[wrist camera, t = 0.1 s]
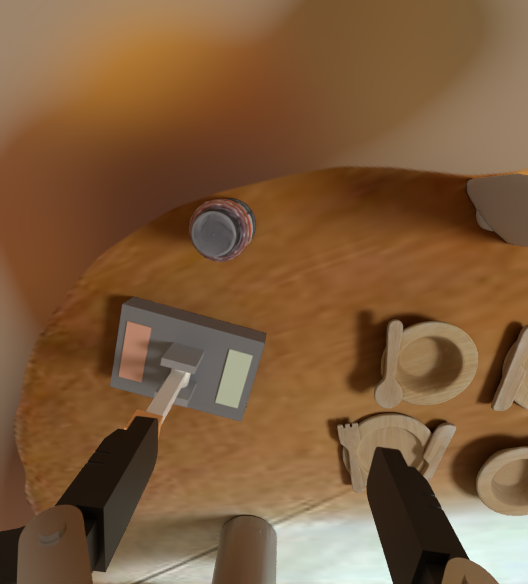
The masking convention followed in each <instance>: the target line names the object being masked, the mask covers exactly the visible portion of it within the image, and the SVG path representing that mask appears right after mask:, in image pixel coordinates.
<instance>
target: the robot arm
mask: <svg viewBox="0 0 528 584" xmlns="http://www.w3.org/2000/svg"><path fill="white" fill-rule="evenodd" d="M157 453H158V419H157V418H151V417H144V416H136V417H135V418H134V419H133V421H132V422H131V424H130V425H129V427H128V428H127V430H123V429H117V430H116V431H114V432H113V433H112V434H110V435H109V436H107V437H106V438H105V439H104V440H103V441H102V443H101V444H100V445H99V447H98V448H97V449H96V451H95V453H94V454H93V455H92V456H91V458H90V459H89V460H88V463H87V464H85V466H84V467H83V468H82V470H81V471H80V472H79V474H78V475H77V477H76V478H75V479H74V481H73V482H72V483H71V485H70V486H69V487H68V489H67V490H66V491H65V493H64V494H63V495H62V497H61V498H60V500H59V501H58V502H57V504H56V505H55V506H54V507H51V508H49V509H47V510H45V511H43V512H41V513H40V514H38V515H37V516H35V517H34V518H33V519H32V520H31V521H30V522H29V523H28V524H27V525H26V526H24V527H21V528H17V529H12V530H7V531H1V532H0V584H93V581H92V575H91V574H92V572H93V571H100V572H106V570H107V568H108V566H109V564H110V562H111V559H112V557H113V555H114V553H115V551H116V549H117V547H118V545H119V542H120V540H121V538H122V536H123V534H124V532H125V530H126V527H127V525H128V523H129V521H130V519H131V517H132V515H133V513H134V510H135V508H136V506H137V504H138V502H139V500H140V498H141V495H142V493H143V491H144V489H145V487H146V485H147V483H148V481H149V478H150V476H151V474H152V472H153V470H154V467H155V463H156V459H157ZM367 497H368V501H369V505H370V508H371V511H372V515H373V518H374V521H375V525H376V528H377V531H378V535H379V538H380V541H381V545H382V548H383V551H384V555H385V558H386V561H387V565H388V568H389V571H390V575H391V578H392V581H393V584H499V583H498V582H497V581H496V580H495V579H494V577H493V576H492V575H491V574H490V573H488V572H487V571H486V570H485V569H484V568H482V567H481V566H480V565H478V564H476V563H475V562H473V561H470V560H469V558H468V556H467V554H466V552H465V550H464V549H463V547H462V545H461V543H460V541H459V539H458V537H457V535H456V534H455V532H454V530H453V528H452V526H451V524H450V522H449V520H448V518H447V517H446V515H445V513H444V511H443V510H442V509H441V505H440V503H439V502H438V500H437V498H435V494H434V492H433V490H432V488H431V487H430V485H429V483H428V481H427V480H426V479H425V477H424V476H423V475H422V474H421V473H420V472H419V471H418V470H417V469H416V468H415V467H410V466H408V465H407V463H406V461H405V459H404V457H403V455H402V453H401V451H400V450H399V449H393V448H385V447H376V449H375V451H374V455H373V459H372V463H371V467H370V470H369V474H368V478H367ZM276 557H277V536H276V533H275V530H274V529H273V527H272V526H271V525H270V524H269V523H268V522H266V521H264V520H263V519H260V518H257V517H253V516H239V517H236V518H233V519H231V520H229V521H228V522H227V523H226V524H225V525H224V526H223V528H222V531H221V536H220V541H219V547H218V552H217V557H216V562H215V568H214V573H213V579H212V584H276Z"/></svg>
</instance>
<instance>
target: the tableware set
mask: <svg viewBox="0 0 528 584" xmlns="http://www.w3.org/2000/svg"><path fill="white" fill-rule="evenodd" d="M477 366H478V352H477V349H476V346H475V344H474V342H473V340H472V339H471V338H470V336H469V335H468V334H467V333H465V332H464V331H463V330H462V329H460V328H458V327H456V326H455V325H452V324H449V323H446V322H440V321H427V322H421V323H417V324H414V325H411V326H409V327H407V328H405V329H403V324H402V323H401V321H399V320H397V319H393V320H391V321H389V323H388V326H387V339H386V348H385V350H384V352H383V355H382V359H381V375H382V378H383V379H382V380H381V381H380V382H379V383H378V384H377V386H376V387H375V390H374V397H375V399H376V402H377V403H378V404H379V405H380V406H381V407H383V408H393V407H395V406H396V405H398V404H399V403H400V401H401V400H403V401H405V402H408V403H411V404H417V405H434V404H439V403H442V402H445V401H448V400H450V399H452V398H453V397H455V396H457V395H458V394H460V393H461V392H462V391H463V390H465V388H466V387H467V386H468V385H469V384H470V382H471V381H472V379H473V378H474V376H475V373H476V371H477ZM513 401H515V402H516V403H518V404H519V405H521V406H522V407H524V408H526V409H528V325H526V326H524V327H523V328H522V329H521V331H520V334H519V336H518V339H517V341H516V342H515V343H514V344H513V345H512V347H511V348H510V349H509V351H508V353H507V355H506V357H505V360H504V363H503V368H502V379H501V382H500V384H499V386H498V389H497V391H496V394H495V396H494V398H493V401H492V403H491V408H492V409H493V410H497V411H503V410H507V409H508V408H509V407H510V406H511V404H512V403H513ZM337 430H338V436H339V440H340V443H341V444H342V445H343V461H344V464H345V467H346V469H347V471H348V472H349V473H350V475H351V482H352V488H353V491H354V492H355V493H361V492H363V491H364V486H367V478H368V474H369V470H370V467H371V463H372V459H373V455H374V451H375V449H376V447H385V448H393V449H399V450H400V451H401V453H402V455H403V457H404V459H405V461H406V463H407V465H408V466H410V467H415V468H416V469H417V470H418V471H419V472H420V473H421V474H422V475H423V476H424V477H425V479H426V480H427V481H428V483H429V481H430V480H431V478H432V476H433V474H434V472H435V470H436V468H437V466H438V464H439V462H440V460H441V458H442V456H443V454H444V452H445V450H446V448H447V446H448V444H449V442H450V440H451V438H452V436H453V434H454V432H455V430H456V426H455V425H454V424H451V423H447V422H446V423H442V424H440V425H439V426H438V427H437V428H436V429H435V431H434V432H433V434H432V433H431V431H430V430H429V429H428V428H427V427H426V426H425V425H424V424H423V423H421V422H420V421H419V420H417V419H415V418H412V417H410V416H407V415H403V414H397V413H384V414H378V415H375V416H372V417H369V418H367V419H365V420H363V421H362V422H360V423H359V424H358V423H357V422H355V423H352V426H350V425H349V423H347V424H345V427H343V426H342V424H338V425H337ZM476 490H477V493H478V496H479V498H480V499H481V501H482V502H483V503H484V504H485V505H486V506H487V507H489V508H490V509H492V510H493V511H495V512H498V513H501V514H504V515H512V516H521V515H528V446H524V447H515V448H506V449H502V450H499V451H497V452H495V453H494V454H492V455H491V456H490V457H489V458H488V459H487V461H486V462H485V464H484V465H483V466H482V467H481V469H480V471H479V472H478V475H477V478H476Z"/></svg>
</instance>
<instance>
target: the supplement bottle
mask: <svg viewBox="0 0 528 584" xmlns="http://www.w3.org/2000/svg"><path fill="white" fill-rule="evenodd" d="M255 229H256V220H255V216H254V213H253V212H252V210H251V209H250V207H249V206H248V205H247V204H245V203H244V202H242V201H240V200H238V199H233V198H223V199H213V200H209V201H207V202H204V203H203V204H201V205H200V206H199V207H198V208H197V209H196V210H195V211H194V213H193V215H192V217H191V219H190V223H189V235H190V239H191V242H192V244H193V246H194V247H195V249H196V250H197V251H198V252H199V253H200V254H201V255H202V256H204V257H205V258H207V259H209V260H213V261H219V262H223V261H229V260H232V259H234V258H236V257H237V256H239V255H240V254H241V253H242V252H243V251H244V250H245V248H246V247H247V245H248V244H249V242H250V241H251V239H252V238H253V236H254V233H255Z"/></svg>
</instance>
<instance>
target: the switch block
mask: <svg viewBox="0 0 528 584" xmlns="http://www.w3.org/2000/svg"><path fill="white" fill-rule="evenodd" d="M265 339H266V333H264V332H260V331H256V330H253V329H249V328H245V327H242V326H238V325H235V324H231V323H227V322H224V321H220V320H216V319H213V318H209V317H206V316H202V315H198V314H195V313H191V312H187V311H184V310H180V309H177V308H173V307H169V306H166V305H162V304H159V303H155V302H151V301H148V300H144V299H140V298H137V297H132V298H131V299H129V300H128V301H126V302H125V303H123V304H122V310H121V317H120V323H119V330H118V337H117V343H116V350H115V357H114V364H113V370H112V377H111V384H110V387H114V388H118V389H122V390H125V391H129V392H133V393H136V394H140V395H144V396H148V397H151V398H155V396H156V395H157V393H158V392H159V390H160V388H161V387H162V385H163V384H164V382H165V381H166V379H167V378H168V376H169V374H170V373H171V368H172V369H176V370H180V371H184V372H187V373H191V375H190V379H189V383H188V385H187V386H186V387H184V388H181V389H180V391H179V393H178V395H177V397H176V399H175V401H174V402H173V404H176V405H180V406H183V407H188V408H192V409H196V410H200V411H203V412H207V413H211V414H215V415H218V416H222V417H226V418H229V419H233V420H237V421H242V417H243V414H244V411H245V408H246V404H247V401H248V398H249V394H250V391H251V388H252V384H253V381H254V378H255V375H256V371H257V368H258V365H259V361H260V358H261V355H262V351H263V348H264V345H265Z"/></svg>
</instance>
